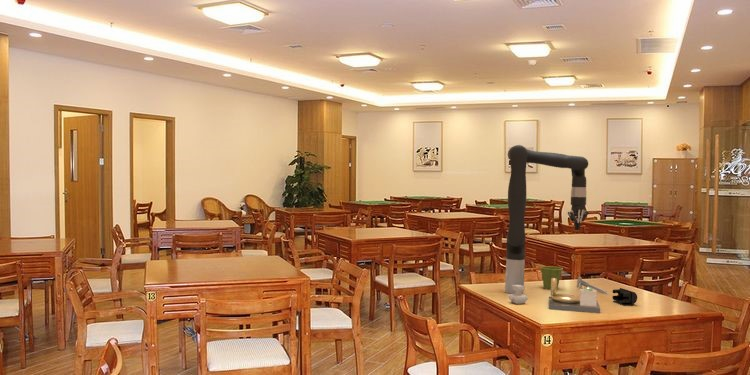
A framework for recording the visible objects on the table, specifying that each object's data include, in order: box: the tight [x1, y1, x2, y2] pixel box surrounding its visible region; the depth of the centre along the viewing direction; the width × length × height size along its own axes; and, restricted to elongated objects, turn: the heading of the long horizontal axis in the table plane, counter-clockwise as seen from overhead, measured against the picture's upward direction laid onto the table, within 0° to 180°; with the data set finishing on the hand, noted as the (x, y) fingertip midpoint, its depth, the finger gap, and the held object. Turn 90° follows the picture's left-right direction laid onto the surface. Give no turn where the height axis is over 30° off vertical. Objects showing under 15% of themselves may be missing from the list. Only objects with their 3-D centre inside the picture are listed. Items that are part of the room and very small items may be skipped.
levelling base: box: [548, 286, 601, 314], centre depth 295 cm, size 22×20×10 cm
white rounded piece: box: [508, 285, 529, 305], centre depth 300 cm, size 9×7×8 cm
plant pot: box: [539, 265, 564, 291], centre depth 340 cm, size 12×12×11 cm
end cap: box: [612, 287, 638, 307], centre depth 305 cm, size 10×7×7 cm
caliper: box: [576, 276, 609, 295], centre depth 337 cm, size 20×1×6 cm, turn 31°
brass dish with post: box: [550, 278, 580, 303], centre depth 299 cm, size 13×13×10 cm
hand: (577, 230), depth 324 cm, fingers closed
